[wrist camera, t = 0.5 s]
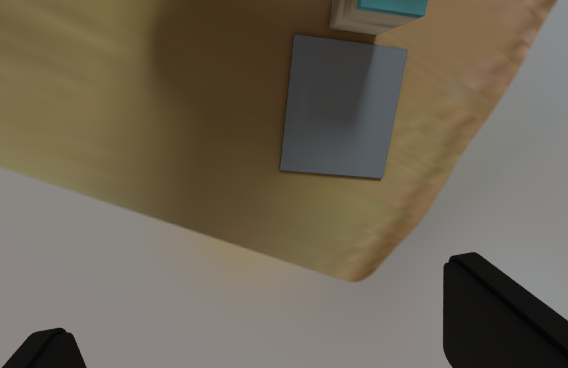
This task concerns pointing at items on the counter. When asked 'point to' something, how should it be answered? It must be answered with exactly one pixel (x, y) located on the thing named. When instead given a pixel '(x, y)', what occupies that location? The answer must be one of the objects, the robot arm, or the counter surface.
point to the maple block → (374, 14)
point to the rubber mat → (340, 106)
